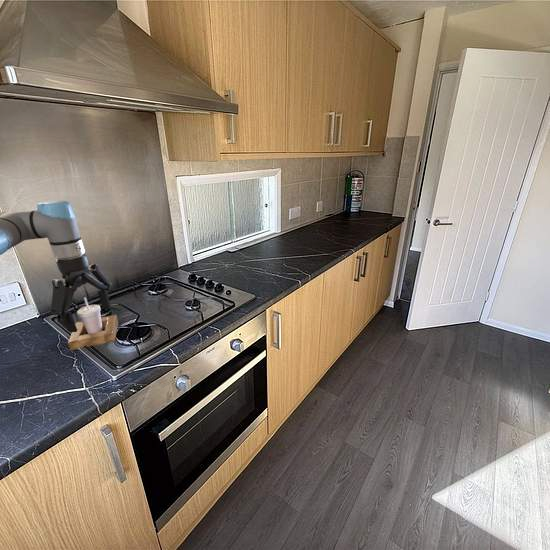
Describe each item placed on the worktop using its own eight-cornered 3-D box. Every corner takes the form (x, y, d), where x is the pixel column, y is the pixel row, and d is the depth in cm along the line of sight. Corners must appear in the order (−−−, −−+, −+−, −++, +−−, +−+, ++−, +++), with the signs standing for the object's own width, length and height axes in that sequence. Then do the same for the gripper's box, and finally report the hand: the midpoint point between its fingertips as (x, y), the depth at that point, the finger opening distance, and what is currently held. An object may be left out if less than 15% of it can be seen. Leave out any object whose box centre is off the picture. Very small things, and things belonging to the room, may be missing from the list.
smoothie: (87, 343, 91) (73, 304, 86) (84, 334, 96) (71, 296, 90) (109, 335, 95) (98, 297, 89) (105, 327, 99) (94, 290, 94)
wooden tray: (70, 350, 88) (67, 342, 87) (79, 330, 98) (76, 322, 97) (114, 340, 92) (112, 332, 91) (118, 322, 102) (116, 314, 101)
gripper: (40, 273, 72) (66, 344, 81) (113, 243, 95) (127, 301, 103) (16, 271, 74) (44, 340, 82) (93, 242, 96) (109, 299, 105)
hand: (91, 319), depth 93 cm, fingers open, 13 cm apart
